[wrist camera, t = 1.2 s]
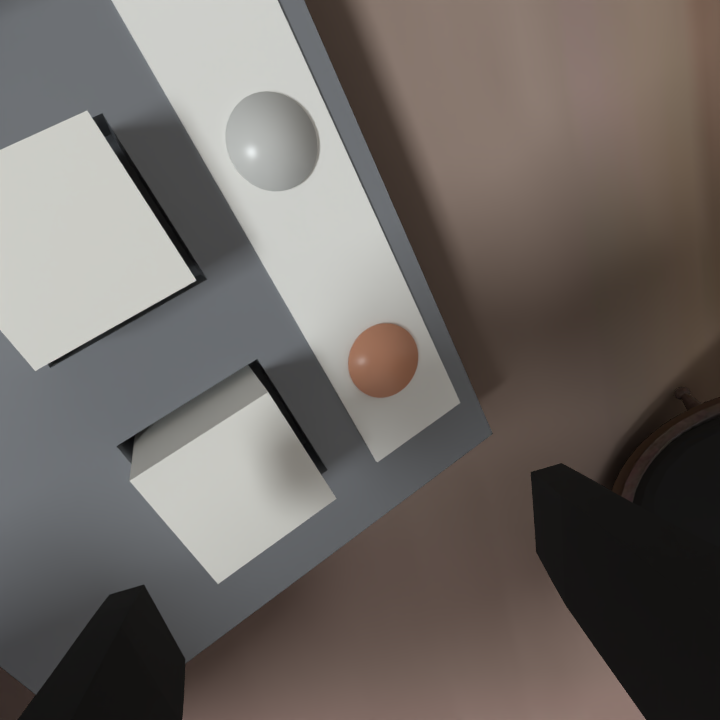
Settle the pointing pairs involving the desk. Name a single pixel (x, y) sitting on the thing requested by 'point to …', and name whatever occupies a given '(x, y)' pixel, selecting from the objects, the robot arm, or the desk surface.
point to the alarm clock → (679, 470)
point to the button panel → (213, 312)
